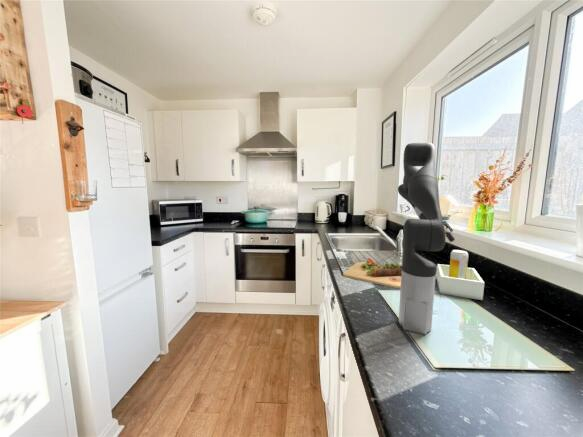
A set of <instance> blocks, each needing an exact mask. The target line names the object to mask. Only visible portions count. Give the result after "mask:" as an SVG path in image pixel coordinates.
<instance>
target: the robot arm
mask: <svg viewBox="0 0 583 437" xmlns="http://www.w3.org/2000/svg"><path fill="white" fill-rule="evenodd" d="M402 163H403V178H402V183H401V184H400V185H398V187H397V192H398V194H399V195H400V196H401V197H402V199H404V200H406V201H407V202H408V203H409V204H410V205H411V207H412V208H413V210H414V212H415V214H416V216H417V217H418V218H408V219H406V220H405V222H404V224H403V229H402V230H403V231H402V246H403V247H402V261H401V262H402V264H401V266H402V274H401V289H399V290H400V291H399V292H400V293H399V308H398V323H399V325H400V326H401V327H402V328H403V330H405V331H410V332H414V333H417V334H418V333H419V334H422V335H427V333H429V332H430V331H431V330H432V326H433V325H432V324H433V316H434V315H433V313H434V312H433V311H434V300H435V288H436V287H435V286H436V280H437V279H436V276H437V265H436V264H435V263H434V262H433V261H431V260H428V259H425V258H423V257H421V256H420V255H418V254H417V253H416V252H415V250H416V251H427V252H440V251H442V250H443V249H444V248H445V245H446V239H448V241H449V242H450V243H452V242H455V237H454V235H453V234H452V232H453V231H454V229H453V228H452V227H451V226H450V224H449V223H448V222H447V221H446V220H443V215H442V211H441V206H440V195H439V194H440V193H439V182H438V178H437V172H436V171H437V170H436V148H435V145H434V144H433V143H432V142H411V143H408V144H406V146H405V147H404V150H403V162H402ZM418 167H420V168H419V169H418Z"/></svg>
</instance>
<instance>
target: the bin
mask: <svg viewBox="0 0 583 437" xmlns="http://www.w3.org/2000/svg"><path fill="white" fill-rule="evenodd" d="M449 268H450V264H443V263H442V264H440V263H437V265H436V279H435V280H436V282H437V287H438V291H439V292H438V293H439V294H444V295H449V296H454V297H461V298H467V299H471V300H472V299H473V300H480V301H483V299H484V291H485V290H484V289H485V281H484V280H483V278H482V277H481V276H480V274H479V273H478V271H477V270H476V269H475V268H474V267H467V275H466V279H460V278H453V277H449Z"/></svg>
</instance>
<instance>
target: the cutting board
mask: <svg viewBox="0 0 583 437" xmlns="http://www.w3.org/2000/svg"><path fill="white" fill-rule="evenodd" d="M375 263H376V262H375V261H374V260H372V258H370V257H369V258H367V260H366V262H363V261H357V262H355V264H352V266H351V267H349V268H348V269H347V270H345V271H344V272H343V273H342V276H343V277H345V278H348V279H353V280H358V281H362V282H367V283H371V284H375V285H376V284H377V285H381V286H384V287H385V286H386V287H390V288H394V289H399V290H400V289H401V274H402V265H399V264H398V263H397V264H396V262H391V263H390V264H389V263H386V262H385V263H383V264H384V265H383V264H382V265H380V264H375Z"/></svg>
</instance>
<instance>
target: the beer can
mask: <svg viewBox="0 0 583 437" xmlns="http://www.w3.org/2000/svg"><path fill="white" fill-rule="evenodd" d="M449 257H450V259H449V265H450V268H449V277H453V278H460V279H466V275H467V268H468V263H469V253H468V251H466V250H462V249H461V250H460V249H452V250H451V252H450V256H449Z"/></svg>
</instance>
